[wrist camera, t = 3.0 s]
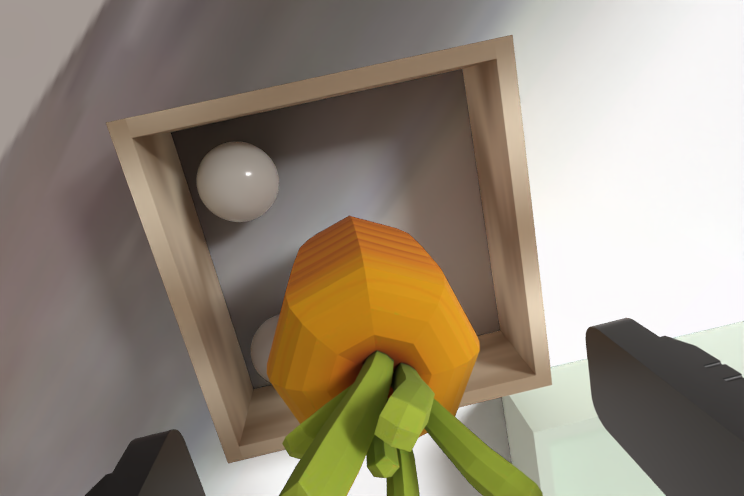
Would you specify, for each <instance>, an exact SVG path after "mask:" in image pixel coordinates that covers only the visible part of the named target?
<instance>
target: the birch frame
mask: <svg viewBox="0 0 744 496" xmlns="http://www.w3.org/2000/svg"><path fill="white" fill-rule="evenodd" d="M459 69H462V70H463V77H464V84H465V91H466V97H467V104H468V111H469V118H470V125H471V132H472V139H473V146H474V153H475V160H476V167H477V173H478V180H479V187H480V194H481V201H482V208H483V215H484V222H485V229H486V236H487V242H488V249H489V256H490V263H491V270H492V277H493V284H494V291H495V298H496V305H497V312H498V318H499V325H500V331H497V332H492V333H488V334H484V335H480V336H477V337H478V340H479V344H480V351H479V354H478V357H477V359H476V362H475V365H474V367H473V370H472V373H471V375H470V378H469V381H468V383H467V386H466V389H465V391H464V394H463V397H462V399H461V402H460V405H459V407H463V406H467V405H471V404H475V403H479V402H484V401H488V400H492V399H496V398H500V397H504V396H508V395H513V394H517V393H521V392H525V391H529V390H533V389H537V388H541V387H546V386H550V385H552V378H551V369H550V360H549V351H548V342H547V334H546V325H545V316H544V307H543V299H542V290H541V281H540V272H539V264H538V255H537V246H536V237H535V228H534V220H533V211H532V202H531V193H530V185H529V176H528V167H527V158H526V150H525V141H524V132H523V123H522V115H521V106H520V97H519V88H518V79H517V71H516V62H515V53H514V44H513V36H512V35H509V36H505V37H500V38H495V39H491V40H486V41H482V42H477V43H472V44H468V45H463V46H458V47H454V48H449V49H445V50H440V51H435V52H431V53H426V54H421V55H417V56H412V57H408V58H403V59H398V60H394V61H389V62H384V63H380V64H375V65H370V66H366V67H361V68H357V69H352V70H347V71H343V72H338V73H333V74H329V75H324V76H320V77H315V78H310V79H306V80H301V81H296V82H292V83H287V84H283V85H278V86H273V87H269V88H264V89H259V90H255V91H250V92H246V93H241V94H236V95H232V96H227V97H222V98H218V99H213V100H208V101H204V102H199V103H195V104H190V105H185V106H181V107H176V108H171V109H167V110H162V111H158V112H153V113H148V114H144V115H139V116H134V117H130V118H125V119H121V120H116V121H111V122H107V123H106V125H107V127H108V130H109V133H110V136H111V139H112V141H113V144H114V147H115V150H116V152H117V155H118V158H119V161H120V164H121V166H122V169H123V172H124V175H125V178H126V180H127V183H128V186H129V189H130V192H131V194H132V197H133V200H134V203H135V205H136V208H137V211H138V214H139V217H140V219H141V222H142V225H143V228H144V231H145V233H146V236H147V239H148V242H149V244H150V247H151V250H152V253H153V256H154V258H155V261H156V264H157V267H158V270H159V272H160V275H161V278H162V281H163V283H164V286H165V289H166V292H167V295H168V297H169V300H170V303H171V306H172V309H173V311H174V314H175V317H176V320H177V323H178V325H179V328H180V331H181V334H182V336H183V339H184V342H185V345H186V348H187V350H188V353H189V356H190V359H191V362H192V364H193V367H194V370H195V373H196V375H197V378H198V381H199V384H200V387H201V389H202V392H203V395H204V398H205V401H206V403H207V406H208V409H209V412H210V414H211V417H212V420H213V423H214V426H215V428H216V431H217V434H218V437H219V440H220V442H221V445H222V448H223V451H224V454H225V456H226V459H227V462H228V463H232V462H236V461H240V460H244V459H248V458H252V457H256V456H261V455H265V454H269V453H273V452H277V451H281V450H285V448H284V446H283V444H282V443H283V441H284V439H285V437H286V436H287V435H288V434H289V433H290V432H292V431H293V430H294V429H295V428H296V427H297V426H299V425H300V423H299V422H298V420H297V419H296V417H295V416H294V415H293V413H292V412H291V410H290V409H289V408H288V406H287V405H286V403H285V402H284V401H283V399H282V398H281V397H280V395H279V394H278V392H277V391H276V390H275V388H274V387H273V385H269V386H265V387H261V388H256V389H253V386H252V383H251V380H250V377H249V374H248V371H247V368H246V364H245V361H244V358H243V355H242V352H241V349H240V346H239V343H238V340H237V337H236V333H235V330H234V327H233V324H232V321H231V318H230V315H229V312H228V309H227V306H226V302H225V299H224V296H223V293H222V290H221V287H220V284H219V281H218V278H217V275H216V271H215V268H214V265H213V262H212V259H211V256H210V253H209V250H208V247H207V244H206V240H205V237H204V234H203V231H202V228H201V225H200V222H199V219H198V216H197V213H196V209H195V206H194V203H193V200H192V197H191V194H190V191H189V188H188V185H187V182H186V178H185V175H184V172H183V169H182V166H181V163H180V160H179V157H178V154H177V151H176V147H175V144H174V141H173V138H172V135H171V132H175V131H179V130H184V129H188V128H193V127H198V126H202V125H207V124H211V123H216V122H221V121H225V120H230V119H234V118H239V117H243V116H248V115H253V114H257V113H262V112H266V111H271V110H276V109H280V108H285V107H289V106H294V105H299V104H303V103H308V102H312V101H317V100H322V99H326V98H331V97H335V96H340V95H345V94H349V93H354V92H358V91H363V90H367V89H372V88H377V87H381V86H386V85H390V84H395V83H400V82H404V81H409V80H413V79H418V78H423V77H427V76H432V75H436V74H441V73H446V72H450V71H455V70H459ZM459 407H458V408H459Z"/></svg>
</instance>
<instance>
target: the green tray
mask: <svg viewBox="0 0 744 496" xmlns="http://www.w3.org/2000/svg"><path fill="white" fill-rule="evenodd" d="M673 339H677V340H680V341H683V342H686V343H689V344H692V345H695V346H697V347H699V348H700V349H702V350H704V351H705V352H707V353H709V354H710V355H712V356H713V357H715V358H717V359H718V360H720V361H721V364H722V365H723V364H726V365H728V366H730V367H731V368H733V369H735V370H736V371H738V372H740V373H741V374H742V376H743V378H744V321H742V322H738V323H734V324H730V325H726V326H722V327H717V328H713V329H709V330H705V331H701V332H697V333H693V334H688V335H684V336H680V337H676V338H673ZM550 369H551V378H552V385H550V386H546V387H541V388H537V389H533V390H529V391H525V392H521V393H517V394H513V395H508V396H504V397H502V402H503V409H504V415H505V422H506V429H507V435H508V442H509V449H510V455H511V462H512V465H514V466H515V467H516V468H518V469H519V470H520V471H522V472H523V473H524V474H525V475H526V476H528V477H529V478H530V479H531V480H533V481H534V482H535V483H536V484H537V485H538V487H539V488H540V490H541V491H542V493H543V496H666V495H665V494H664V493H663V492H662V491H661V490H660V489H659V488H658V486H657V485H656V484H655V483H654V482H653V481H652V480H651V479H650V478H649V476H648V475H647V474H646V473H645V472H644V471H643V470H642V469H641V468H640V467H639V465H638V464H637V463H636V462H635V461H634V460H633V459H632V458H631V457H630V456H629V454H628V453H627V452H626V451H625V450H624V449H623V448H622V447H621V446H620V444H619V443H618V442H617V441H616V440H615V439H614V438H613V437H612V436H611V435H610V433H609V432H608V431H607V430H606V429H605V428H604V426H603V425H602V423H601V421H600V419H599V418H598V415H597V413H596V411H595V408H594V405H593V401H592V396H591V387H590V377H589V368H588V359H585V360H580V361H576V362H572V363H568V364H564V365H560V366H556V367H551V368H550Z"/></svg>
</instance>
